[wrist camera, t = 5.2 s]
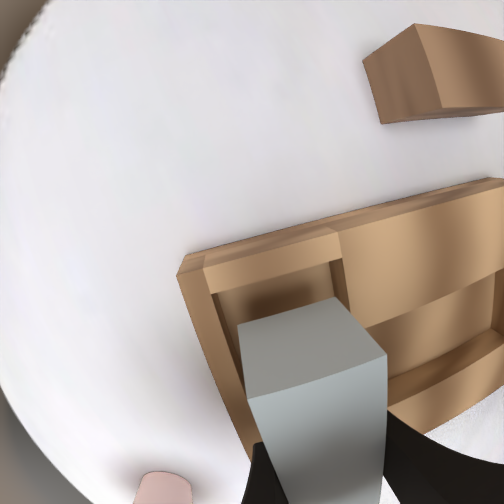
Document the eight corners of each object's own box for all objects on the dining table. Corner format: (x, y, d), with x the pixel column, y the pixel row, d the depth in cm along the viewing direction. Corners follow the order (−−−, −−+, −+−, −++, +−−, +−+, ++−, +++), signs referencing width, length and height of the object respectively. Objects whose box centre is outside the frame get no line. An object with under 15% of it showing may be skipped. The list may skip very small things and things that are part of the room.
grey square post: (335, 296, 11) (387, 354, 7) (352, 456, 13) (378, 510, 10) (237, 324, 11) (246, 399, 7) (288, 476, 13) (303, 534, 9)
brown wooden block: (456, 63, 13) (513, 43, 8) (472, 116, 14) (532, 108, 9) (361, 61, 13) (414, 23, 8) (380, 124, 13) (442, 107, 9)
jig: (489, 177, 14) (524, 180, 11) (483, 363, 18) (506, 382, 15) (185, 255, 14) (176, 275, 11) (259, 455, 17) (264, 490, 14)
